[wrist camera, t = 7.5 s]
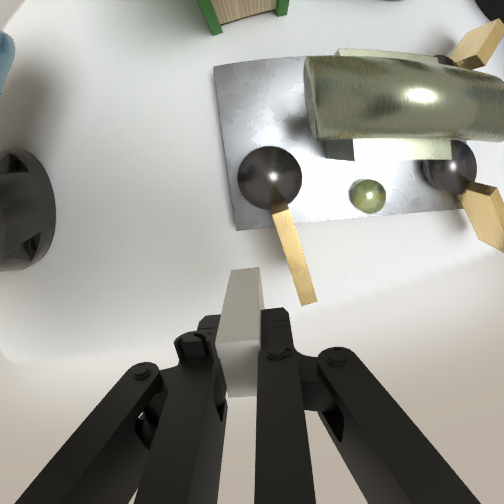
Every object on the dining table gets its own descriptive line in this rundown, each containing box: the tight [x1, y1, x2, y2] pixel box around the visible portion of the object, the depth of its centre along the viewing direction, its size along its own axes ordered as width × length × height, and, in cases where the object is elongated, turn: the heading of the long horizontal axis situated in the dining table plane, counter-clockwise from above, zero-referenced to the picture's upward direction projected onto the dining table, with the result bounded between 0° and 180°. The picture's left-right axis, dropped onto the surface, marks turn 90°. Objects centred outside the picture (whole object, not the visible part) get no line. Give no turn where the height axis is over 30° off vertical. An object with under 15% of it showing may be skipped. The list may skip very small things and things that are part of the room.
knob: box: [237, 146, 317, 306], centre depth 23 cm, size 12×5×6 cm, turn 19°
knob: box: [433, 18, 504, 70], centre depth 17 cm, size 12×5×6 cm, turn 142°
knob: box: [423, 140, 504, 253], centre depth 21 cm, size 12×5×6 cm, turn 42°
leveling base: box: [214, 49, 504, 231], centre depth 19 cm, size 24×15×15 cm, turn 97°
